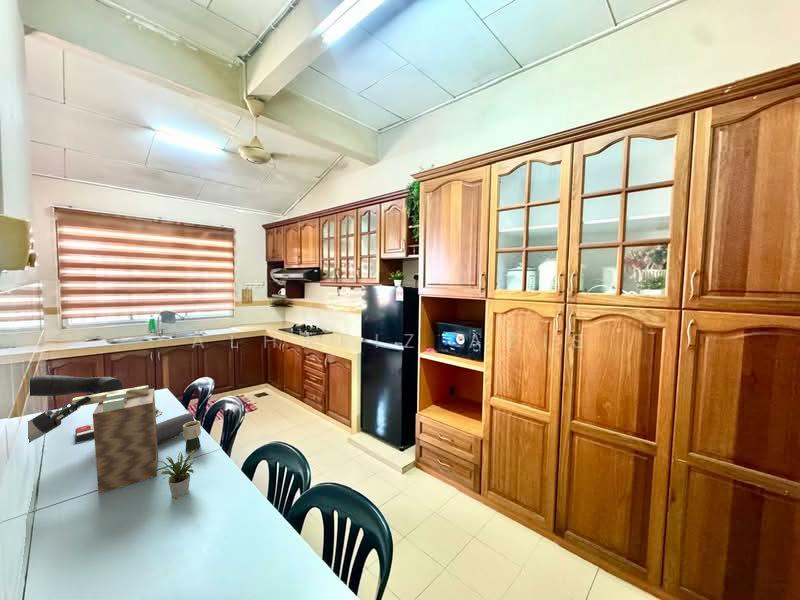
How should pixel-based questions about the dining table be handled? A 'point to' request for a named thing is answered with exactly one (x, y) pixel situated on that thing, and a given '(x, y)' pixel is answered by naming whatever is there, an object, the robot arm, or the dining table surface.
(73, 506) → the dining table surface
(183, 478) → the house plant
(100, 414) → the walnut stand
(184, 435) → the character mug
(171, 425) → the bluetooth speaker
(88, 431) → the red and black block
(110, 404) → the pale green blocks
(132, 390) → the maple plank
